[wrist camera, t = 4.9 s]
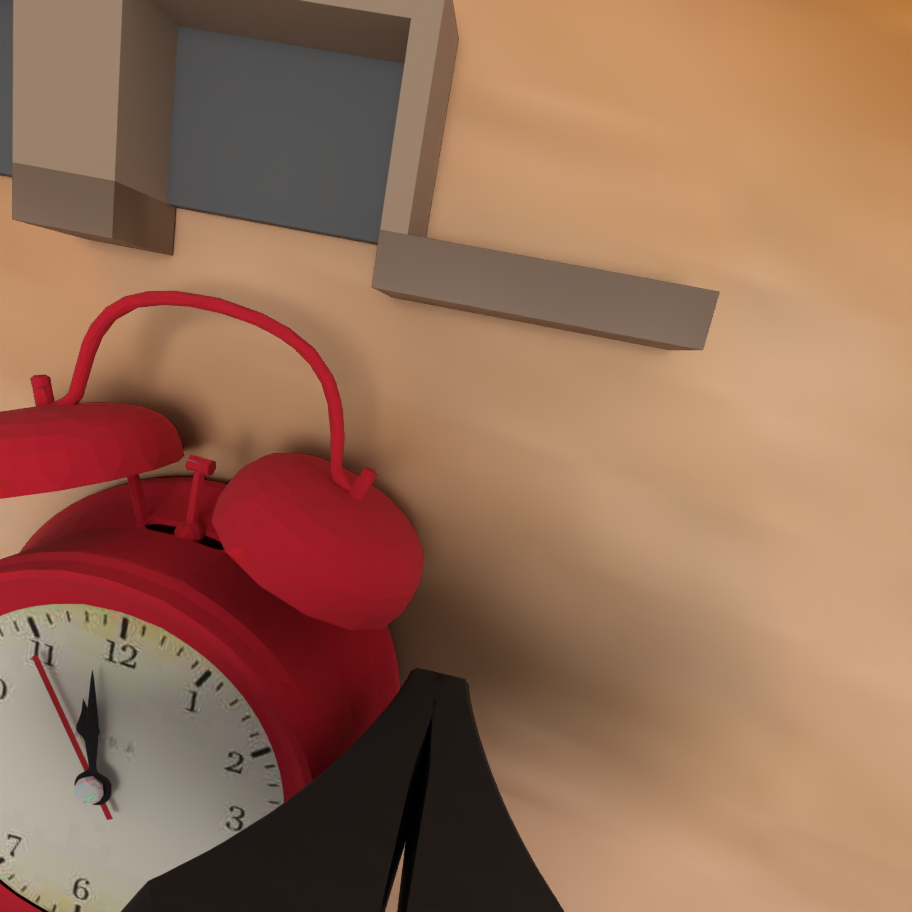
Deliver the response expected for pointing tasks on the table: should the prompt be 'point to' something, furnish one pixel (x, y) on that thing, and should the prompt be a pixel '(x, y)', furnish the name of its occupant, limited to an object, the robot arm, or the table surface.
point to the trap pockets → (237, 104)
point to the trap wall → (406, 267)
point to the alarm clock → (178, 635)
